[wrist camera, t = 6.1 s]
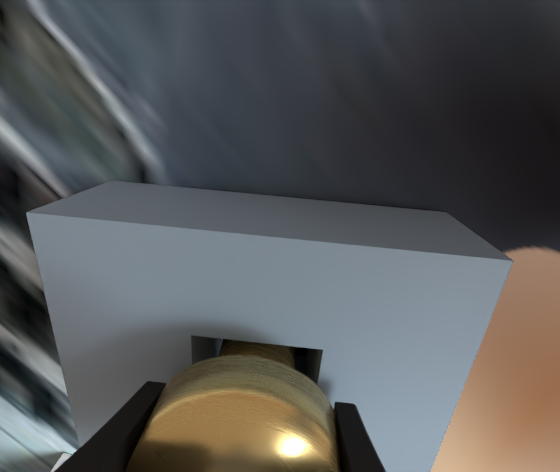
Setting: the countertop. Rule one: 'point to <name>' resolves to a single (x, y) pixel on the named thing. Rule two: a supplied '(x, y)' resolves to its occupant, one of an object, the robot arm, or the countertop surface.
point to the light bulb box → (61, 461)
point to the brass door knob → (240, 417)
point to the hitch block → (268, 299)
